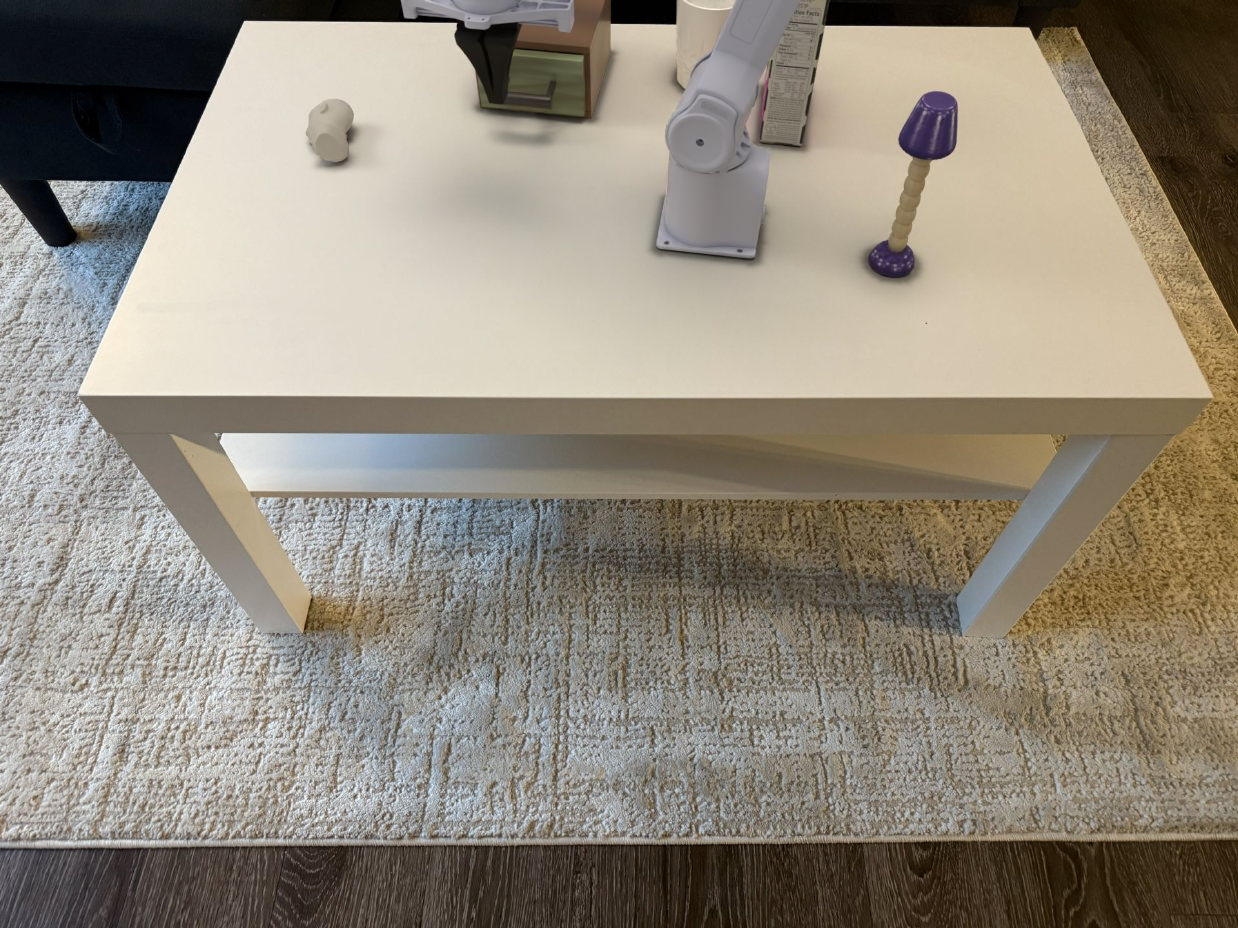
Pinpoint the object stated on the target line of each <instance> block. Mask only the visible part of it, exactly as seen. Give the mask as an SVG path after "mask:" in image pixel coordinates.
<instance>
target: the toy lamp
mask: <svg viewBox="0 0 1238 928" xmlns="http://www.w3.org/2000/svg"><path fill="white" fill-rule="evenodd" d="M958 106H959V105H958V101H957V99H956V97H955V96H953V95H952V94H950V93H948V92H945V91H940V90H933V91H928V92H926V93H924V94H922V95H921V96H920V98H919V99H918V100H917V102H916V103H915V106H914V107H913V108H912V111H911V112H910V114H909V115H908V118H907V119H906V121H905V123H904V124H903V126H902V127H901V130H900V132H899V135H898V140H897V141H898V145H899V147H900V149H901V150H902V151H903V152H904V153H905V154H907V155H909V156H910V157H911V158H912V160H911V161H910V163H909V165H908V167H907V176H906V177H905V179H904V181H903V191H902V192H901V193H900V195H899V198H898V199H899V200H898V202H899V204H898V206H897V207H896V210H895V219H894V220H893V222H892V224H891V233H890V234H889V237H888V239H886V240H883V241H881V242H879V243H877V244H876V245H875V246H874V247H873V249H872V250H871V251H870V253H869V255H868V264H869V266H870V267H871V269H872V270H873V271H875V272H876V273H878V274H879V275H882V276H884V277H889V278H902V277H905V276H907V275H909V274H910V273H911V272H912V271H913V270H914V267H915V262H916V261H915V254H914V251H913V250H912V248H911V247H910V246H909V245H908V243H909V235H910V234H911V232H912V229H913V222H914V221H915V219H916V217H917V208H918V207H919V205H920V203H921V200H922V195H921V194H922V193H923V191H924V189H925V187H926V178H927V177H928V176H929V174H930V171H931V162H932V161H938V160H942V159H945V158H947V157H949V156H950V155H951V154H952V153H953V152H954V151H955V149H956V147H957V142H958V120H959V117H958V115H959V107H958Z"/></svg>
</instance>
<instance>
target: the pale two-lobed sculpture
mask: <svg viewBox="0 0 1238 928" xmlns="http://www.w3.org/2000/svg"><path fill="white" fill-rule="evenodd" d="M354 114H355V113H354V110H353V108H352V106H351V105H350V104H349V103H347V101H345V100H343V99H339V98H329V99H326V100H323V101H322V102H320V103H318V105H315V107H314V108H312V109H311V111H310V112H309V113H308V123H307V124H308V126H307V128H306V130H305V135H306V137H307V138H309V142H311V143H310V144H311V148H312V150H313V151H314V153H315V155H317V156H318V157H319V158H320V159H321V160H325V161H328V162H335V163H337V162H342V161H344V160H345V159H346V158H347V157H348V156H349V151H350V149H349V143H348V140H347V139H348V133H347V132H348V131H349V130H350V129H351V127H352V125H353V123H354V118H355V117H354ZM346 133H347V134H346Z"/></svg>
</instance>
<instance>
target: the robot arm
mask: <svg viewBox="0 0 1238 928" xmlns="http://www.w3.org/2000/svg"><path fill="white" fill-rule="evenodd" d="M400 2H401V9H402V13H403V18H404V19H413V20H415V19H417V18H418V17H419V16H424V17H426V16H427V17H434V18H435V17H436V18H437V17H438V18H449V19H455V20H456V30H455V31H454V34H453V37H454V40H455V44H456V46H457V47H458V48H459V49H460V50H461V52H463V54H464V55H465V57H466V58H467V60H468V61H469V63H470V64H471V66H472V67H473V69H474V72H475V71H476V73H477V75H478V77H479V79H480V81H481V83H482V85H483V88H484V90H485V93H486V96H487V99H488V102H489V103H491V104H501V105H502V104H504V102H505V99H506V97H507V94H508V79H509V71H510V65H511V60H512V56H513V52H514V48H515V45H516V41H517V38H518V35H519V32H520V29H521V27H522V24H525V25H536V26H548V27H558V31H560V32H568V33H570V32H571V29H572V27H573V23H574V0H400ZM799 2H800V0H736V1H735V3H734V5H733V7H732V9H731V12H730V14H729V16H728V18H727V20H726V23H725V25H724V27H723V29H722V32H721V34H720V36H719V38H718V40H717V43H716V45H715V46H714V48H713V49H712V50H711V51H710V52H709V53H707V54H706V55H704V56H703V57H702V58H700V59H699V61H698V62H697V63H696V64H695V66H694V68H693V70H692V72H691V75H690V80H689V82H688V85H687V87H686V89H684V90H683V93H682V95H681V97H680V99H679V101H678V104H677V105H676V107H675V109H674V111H673V112H672V113H671V115H670V117H669V119H668V120H667V123H666V124H665V129H664V140H665V144H666V148H667V150H668V162H667V163H668V165H667V166H668V167H667V178H666V194H665V195H664V201H663V205H662V211H661V216H660V221H659V226H658V230H657V236H656V241H655V245H656V248H658V249H661V250H668V251H678V252H686V253H694V254H695V253H696V254H706V255H714V256H724V257H731V258H732V257H733V258H742V259H754V258H755V257H756V253H757V247H758V241H759V236H760V235H759V234H760V230H761V229H760V228H761V225H763V224H764V221H765V215H766V207H767V206H766V204H765V201H766V194H767V189H768V182H769V181H768V180H769V175H770V174H769V173H770V166H771V158H772V150H771V149H770V148H765V147H762V146H759V145H758V144H754V143H752V142H751V139H750V135H749V131H748V128H747V122H748V119H749V117H750V114H751V112H752V110H753V107H755V104H756V102H757V100H758V98H759V95H760V90H761V89H760V81H761V78H762V76H763V74H764V72H765V70H766V69H767V64H768V62H769V60H770V58H771V56H772V54H773V52H774V51H775V49H776V47H777V45H778V43H779V41H780V39H781V37H782V35H783V33H784V31H785V29H786V27H787V25H788V24H789V22H790V20H791V18H792V16H793V14H794V12H795V10H796V8H797V6H798V4H799ZM476 73H475V74H476Z"/></svg>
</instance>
